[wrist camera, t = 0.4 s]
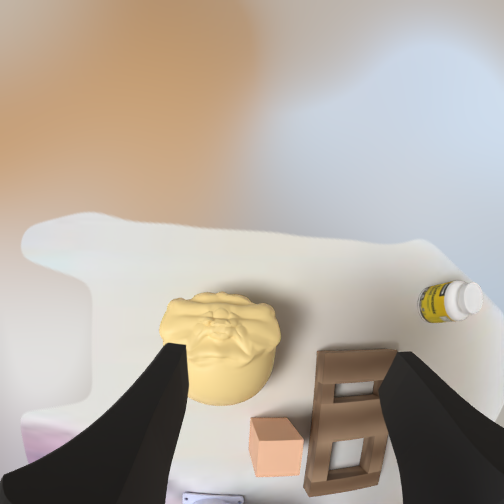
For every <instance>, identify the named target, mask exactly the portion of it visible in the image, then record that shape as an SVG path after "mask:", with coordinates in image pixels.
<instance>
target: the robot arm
mask: <svg viewBox="0 0 504 504" xmlns="http://www.w3.org/2000/svg"><path fill="white" fill-rule="evenodd" d="M188 391H189V376H188V364H187V350H186V345H184V344H176V343H166V344H165V345H164V346H163V348H162V349H161V350H160V352H159V353H158V354H157V356H156V357H155V358H154V360H153V361H152V362H151V364H150V365H149V366H148V367H147V368H146V370H145V371H144V372H143V373H142V374H141V376H140V377H139V378H138V379H137V380H136V381H135V383H134V384H133V385H132V386H131V387H130V388H129V389H128V390H127V391H126V392H125V393H124V394H123V396H122V397H121V398H120V399H119V400H118V401H117V402H116V403H115V404H114V405H113V406H112V407H111V408H110V409H109V410H107V411H106V412H105V413H104V414H103V415H102V416H101V417H100V418H99V419H97V420H96V421H95V422H94V423H93V424H91V425H90V426H89V427H88V428H86V429H85V430H84V431H82V432H81V433H80V434H78V435H77V436H76V437H74V438H73V439H72V440H70V441H69V442H67V443H66V444H64V445H63V446H61V447H59V448H58V449H56V450H54V451H53V452H51V453H49V454H47V455H46V456H44V457H42V458H40V459H39V460H37V461H35V462H33V463H30V464H28V465H26V466H24V467H21V468H19V469H17V470H15V471H12V472H9V473H7V474H4V476H3V478H2V479H1V481H0V504H165V498H166V491H167V483H168V476H169V471H170V467H171V462H172V459H173V455H174V451H175V448H176V444H177V440H178V437H179V433H180V429H181V426H182V422H183V418H184V415H185V410H186V404H187V398H188ZM378 393H379V399H380V404H381V409H382V414H383V418H384V421H385V424H386V427H387V430H388V433H389V437H390V440H391V443H392V446H393V449H394V453H395V456H396V459H397V463H398V467H399V472H400V478H401V485H402V494H403V504H504V428H503V427H501V426H500V425H498V424H496V423H495V422H493V421H492V420H490V419H489V418H487V417H486V416H485V415H483V414H482V413H480V412H479V411H478V410H476V409H475V408H474V407H473V406H471V405H470V404H469V403H468V402H467V401H465V400H464V399H463V398H462V397H461V396H460V395H458V394H457V393H456V392H455V391H454V390H453V389H452V388H451V387H450V386H449V385H447V384H446V383H445V382H444V381H443V380H442V379H441V378H440V377H439V376H438V375H437V374H436V373H435V372H434V371H433V370H431V369H430V368H429V367H428V366H427V365H426V364H425V363H424V362H423V361H422V360H421V359H419V358H418V357H417V356H416V355H415V354H414V353H412V352H411V351H410V352H397V354H396V356H395V358H394V360H393V362H392V364H391V366H390V368H389V370H388V372H387V374H386V376H385V378H384V380H383V382H382V383H381V385H380V387H379V389H378ZM185 498H188V499H185ZM238 501H241V502H238ZM243 503H244V498H243V497H242V496H229V495H209V494H196V493H183V504H243Z"/></svg>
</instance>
